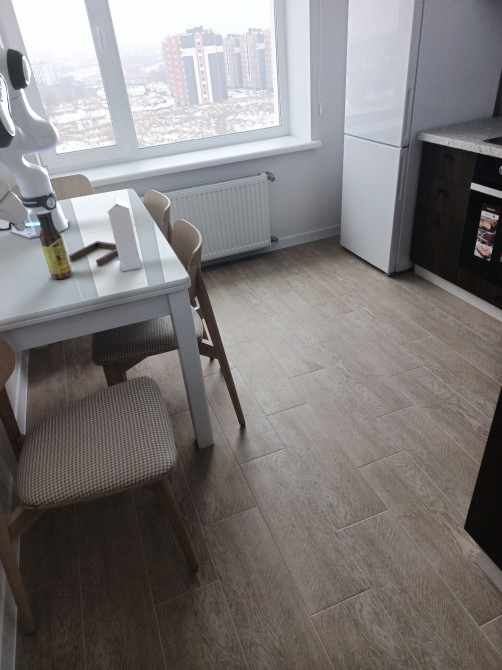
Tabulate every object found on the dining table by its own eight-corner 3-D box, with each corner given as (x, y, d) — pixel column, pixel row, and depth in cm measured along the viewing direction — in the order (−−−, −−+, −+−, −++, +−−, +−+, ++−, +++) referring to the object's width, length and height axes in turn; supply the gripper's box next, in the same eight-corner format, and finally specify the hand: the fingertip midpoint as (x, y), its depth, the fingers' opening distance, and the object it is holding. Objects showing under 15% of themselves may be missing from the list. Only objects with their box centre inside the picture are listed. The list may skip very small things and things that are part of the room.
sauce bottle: (66, 280, 143) (45, 216, 132) (47, 280, 144) (26, 216, 134) (76, 271, 148) (58, 208, 138) (59, 270, 150) (39, 209, 139)
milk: (122, 271, 145) (104, 200, 134) (121, 264, 150) (103, 195, 139) (142, 267, 147) (126, 196, 135) (140, 260, 152) (124, 191, 140)
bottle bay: (70, 260, 156) (68, 255, 155) (98, 246, 166) (97, 240, 165) (100, 266, 150) (98, 260, 149) (127, 250, 160) (126, 245, 159)
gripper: (-64, 187, 116) (-27, 227, 128) (-5, 202, 109) (29, 242, 121) (-47, 170, 118) (-12, 210, 130) (12, 183, 111) (44, 224, 123)
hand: (8, 225), depth 125 cm, fingers open, 8 cm apart
